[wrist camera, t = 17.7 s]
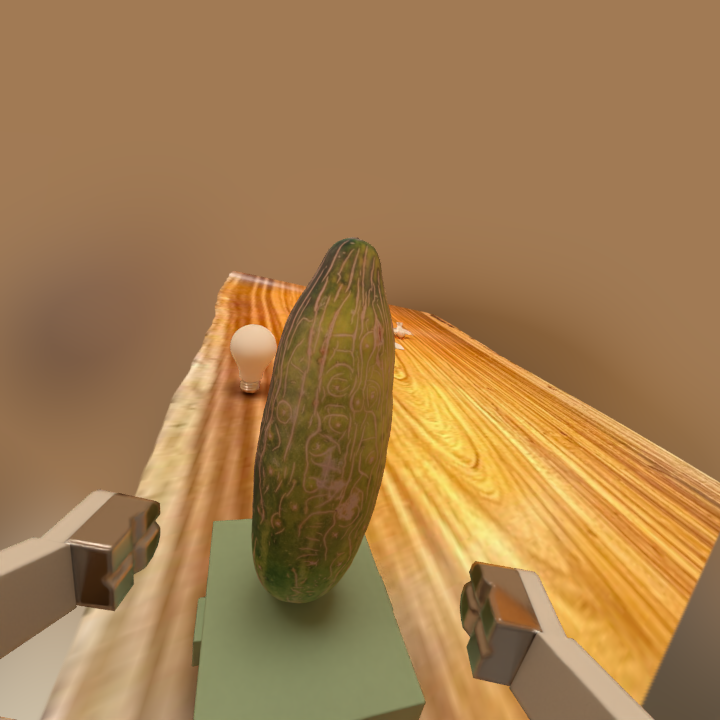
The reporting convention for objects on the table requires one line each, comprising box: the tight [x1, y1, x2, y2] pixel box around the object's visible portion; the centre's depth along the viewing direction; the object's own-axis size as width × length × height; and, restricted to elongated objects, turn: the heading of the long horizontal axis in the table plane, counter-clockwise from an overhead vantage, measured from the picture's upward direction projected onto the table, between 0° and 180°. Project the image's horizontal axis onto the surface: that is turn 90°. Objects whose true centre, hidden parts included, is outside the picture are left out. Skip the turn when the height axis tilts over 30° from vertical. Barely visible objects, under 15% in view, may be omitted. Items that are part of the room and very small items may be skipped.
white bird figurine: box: [393, 322, 413, 338], centre depth 106 cm, size 8×5×5 cm, turn 101°
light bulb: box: [230, 324, 276, 394], centre depth 56 cm, size 7×7×11 cm
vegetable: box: [251, 238, 395, 603], centre depth 18 cm, size 6×6×20 cm
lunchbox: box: [192, 519, 425, 720], centre depth 22 cm, size 12×11×6 cm
